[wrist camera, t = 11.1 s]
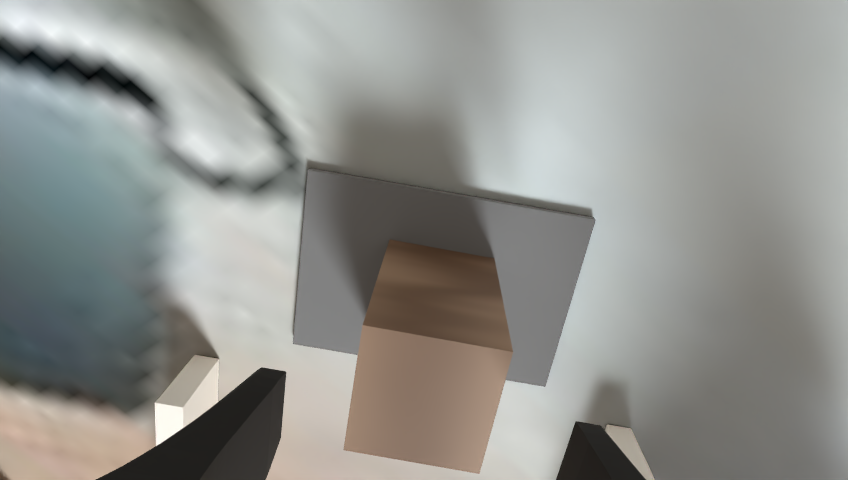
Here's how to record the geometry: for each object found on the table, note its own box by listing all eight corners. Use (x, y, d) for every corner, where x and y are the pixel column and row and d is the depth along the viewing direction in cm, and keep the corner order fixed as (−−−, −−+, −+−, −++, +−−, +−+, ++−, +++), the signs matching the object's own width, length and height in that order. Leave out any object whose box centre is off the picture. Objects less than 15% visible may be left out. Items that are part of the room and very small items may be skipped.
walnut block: (494, 258, 18) (513, 352, 13) (471, 352, 20) (479, 473, 14) (389, 239, 18) (362, 325, 13) (374, 335, 20) (343, 449, 14)
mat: (593, 217, 18) (595, 219, 18) (543, 381, 21) (545, 386, 20) (309, 167, 18) (307, 169, 18) (295, 339, 20) (293, 343, 20)
